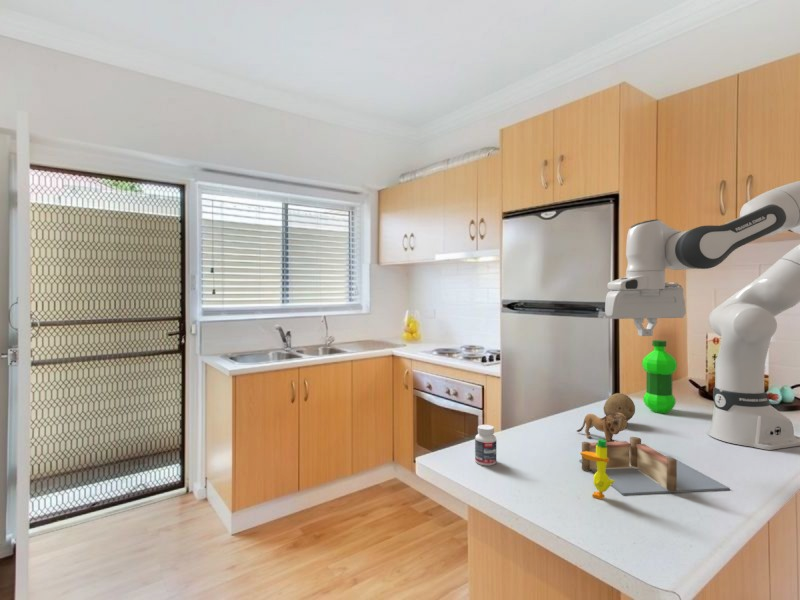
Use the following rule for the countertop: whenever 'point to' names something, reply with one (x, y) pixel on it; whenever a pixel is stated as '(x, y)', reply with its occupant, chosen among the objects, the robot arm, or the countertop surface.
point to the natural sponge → (619, 405)
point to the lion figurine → (605, 424)
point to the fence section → (613, 454)
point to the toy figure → (599, 468)
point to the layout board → (641, 483)
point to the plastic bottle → (659, 378)
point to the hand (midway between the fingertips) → (645, 335)
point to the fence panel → (657, 466)
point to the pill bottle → (485, 445)
